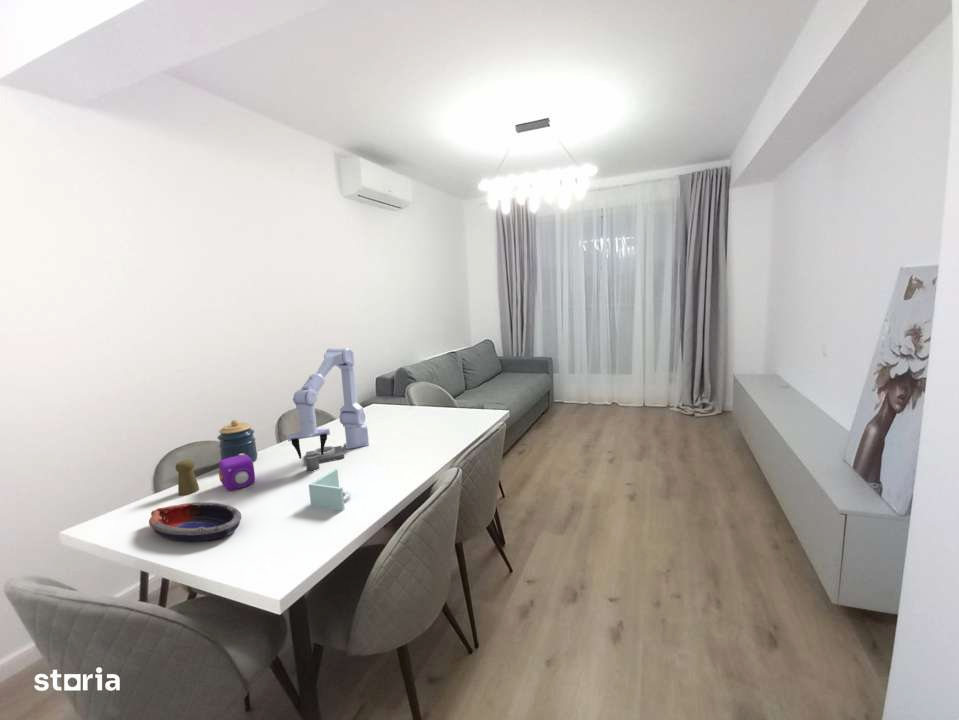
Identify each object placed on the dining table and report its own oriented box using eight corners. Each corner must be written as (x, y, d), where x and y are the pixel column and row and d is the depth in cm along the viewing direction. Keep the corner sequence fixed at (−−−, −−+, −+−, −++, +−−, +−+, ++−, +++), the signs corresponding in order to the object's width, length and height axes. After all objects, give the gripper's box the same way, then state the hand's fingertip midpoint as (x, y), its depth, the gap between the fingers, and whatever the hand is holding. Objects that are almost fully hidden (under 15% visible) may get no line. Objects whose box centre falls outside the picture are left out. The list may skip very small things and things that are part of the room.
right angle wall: (342, 512, 123) (340, 488, 122) (311, 507, 128) (308, 484, 127) (366, 494, 135) (364, 472, 134) (336, 490, 139) (334, 469, 138)
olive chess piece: (197, 486, 147) (192, 456, 145) (201, 490, 142) (196, 460, 141) (176, 492, 143) (171, 461, 141) (179, 497, 138) (174, 466, 137)
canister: (242, 468, 161) (236, 425, 158) (213, 467, 163) (207, 424, 161) (264, 456, 174) (259, 415, 171) (238, 455, 176) (232, 415, 174)
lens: (319, 466, 159) (317, 451, 159) (319, 470, 155) (318, 455, 154) (306, 468, 158) (304, 453, 157) (306, 472, 154) (305, 457, 153)
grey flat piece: (341, 449, 178) (340, 442, 177) (344, 458, 167) (343, 451, 166) (306, 455, 172) (305, 448, 172) (307, 465, 161) (306, 457, 161)
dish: (207, 554, 105) (205, 535, 104) (131, 535, 116) (128, 519, 115) (259, 522, 119) (257, 506, 118) (187, 509, 130) (184, 494, 129)
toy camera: (232, 496, 137) (228, 468, 135) (215, 487, 145) (211, 460, 144) (265, 484, 145) (261, 457, 144) (247, 476, 154) (244, 450, 152)
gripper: (286, 426, 147) (290, 463, 149) (328, 420, 153) (332, 455, 155) (286, 422, 154) (290, 456, 156) (327, 416, 159) (331, 449, 161)
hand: (311, 455), depth 156 cm, fingers open, 7 cm apart
